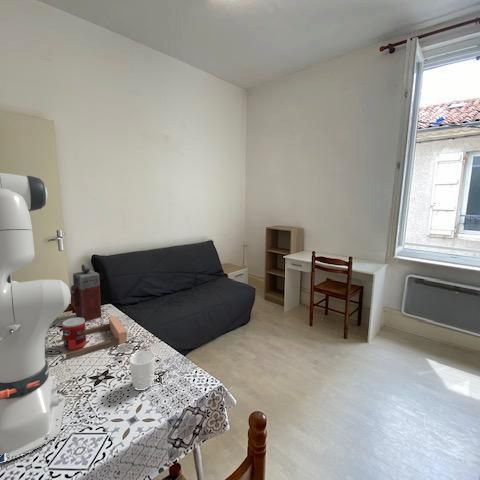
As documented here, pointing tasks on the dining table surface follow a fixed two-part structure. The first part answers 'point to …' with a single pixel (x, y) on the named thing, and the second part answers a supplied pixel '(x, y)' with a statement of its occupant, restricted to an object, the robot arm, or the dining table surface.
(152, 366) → the white cup
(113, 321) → the end stop
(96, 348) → the guide rails
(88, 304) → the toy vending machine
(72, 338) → the canned food
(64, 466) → the dining table surface
